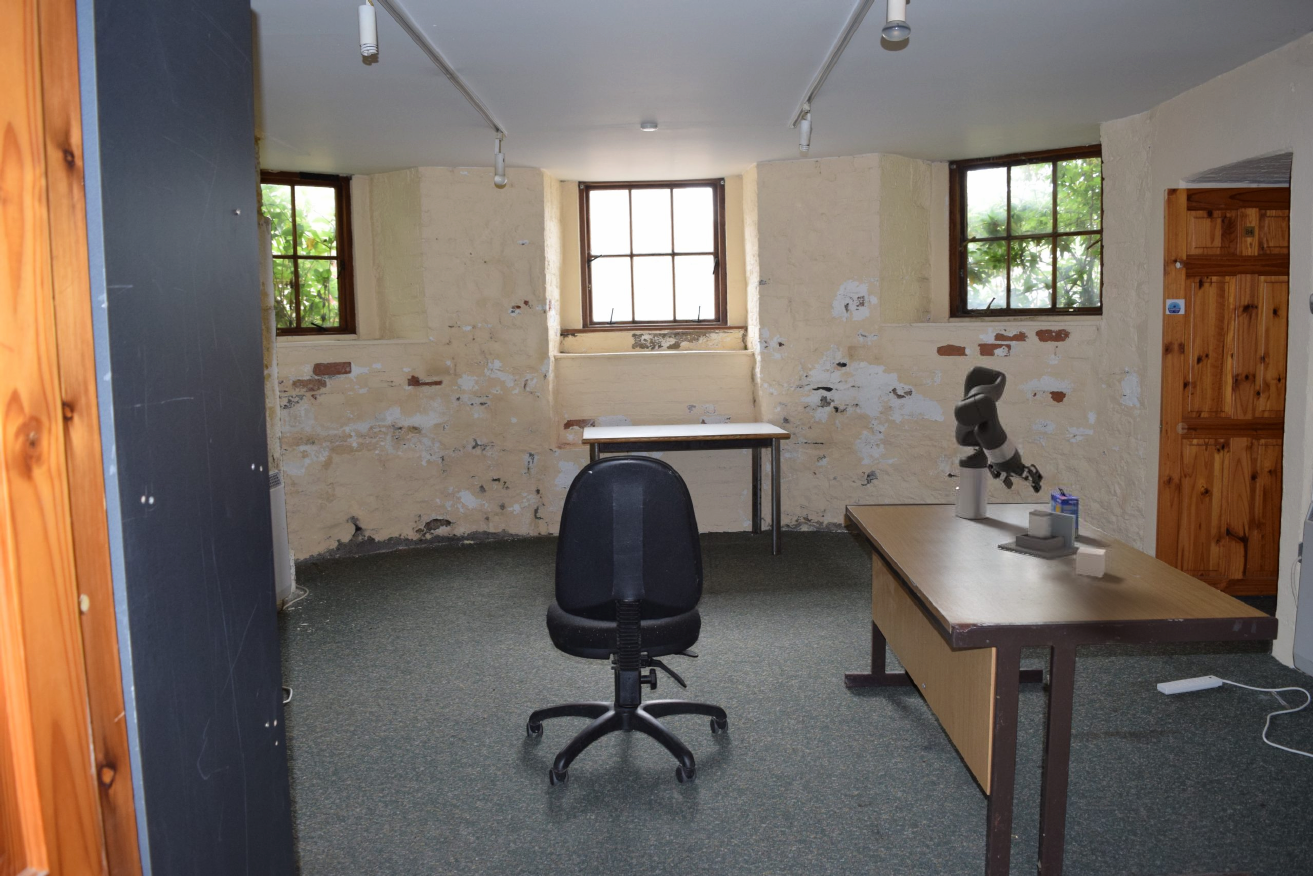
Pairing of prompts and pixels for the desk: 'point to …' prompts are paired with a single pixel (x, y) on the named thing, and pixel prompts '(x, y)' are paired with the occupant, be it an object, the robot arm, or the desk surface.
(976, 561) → the desk surface
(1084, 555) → the white cube
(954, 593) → the desk surface
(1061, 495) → the ink cartridge box
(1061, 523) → the dock
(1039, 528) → the tall gray block
